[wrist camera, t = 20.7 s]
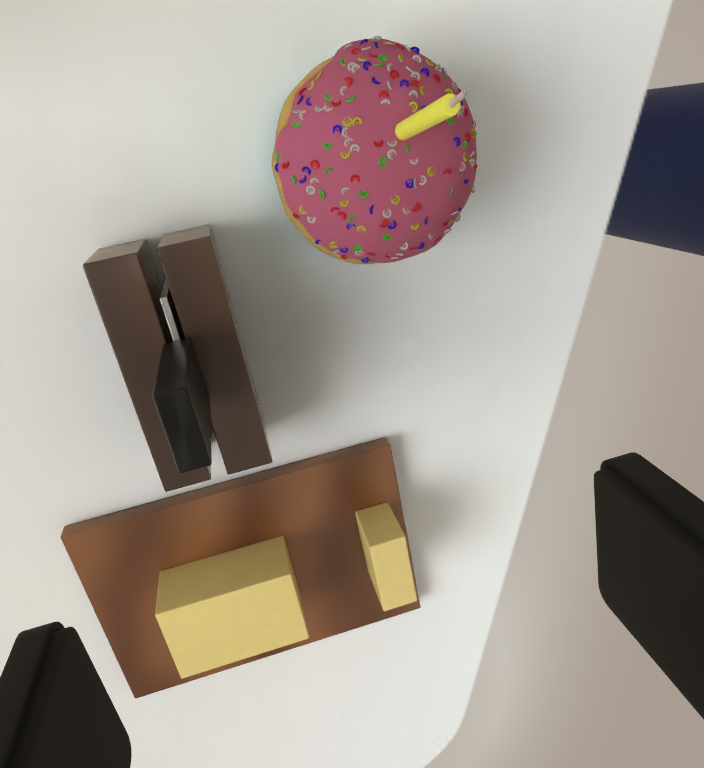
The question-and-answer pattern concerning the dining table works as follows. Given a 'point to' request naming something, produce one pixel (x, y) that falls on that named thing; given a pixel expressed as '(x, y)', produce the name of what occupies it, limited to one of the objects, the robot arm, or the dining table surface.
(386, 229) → the cupcake
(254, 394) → the knife block
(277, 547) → the butter
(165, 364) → the knife
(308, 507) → the board
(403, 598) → the butter slice
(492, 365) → the dining table surface
